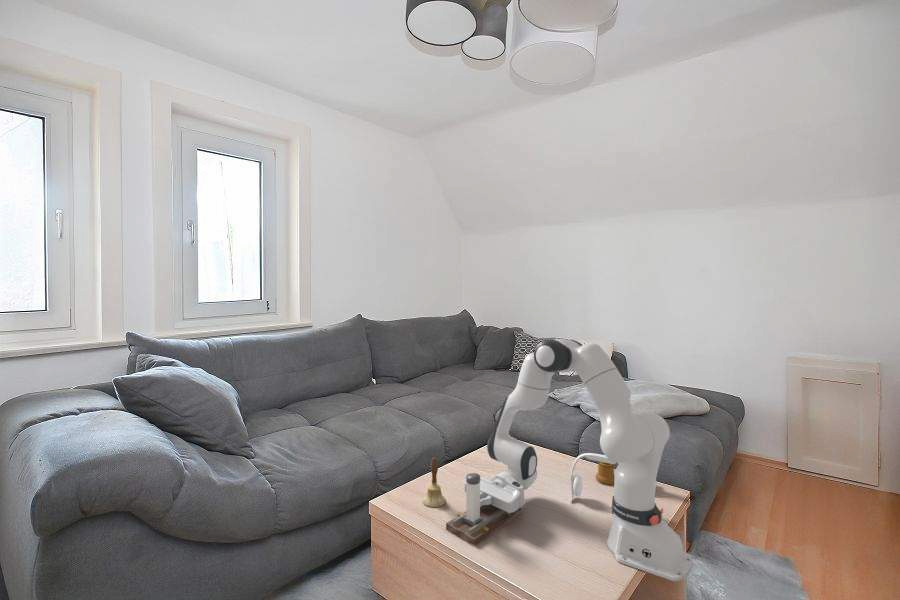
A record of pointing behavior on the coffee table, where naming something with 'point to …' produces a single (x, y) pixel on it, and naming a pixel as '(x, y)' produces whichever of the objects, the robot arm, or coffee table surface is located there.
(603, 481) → the ornamental finial
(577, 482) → the headset
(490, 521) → the fader track
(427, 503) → the hand bell
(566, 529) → the coffee table surface
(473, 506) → the fader tab
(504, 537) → the coffee table surface
